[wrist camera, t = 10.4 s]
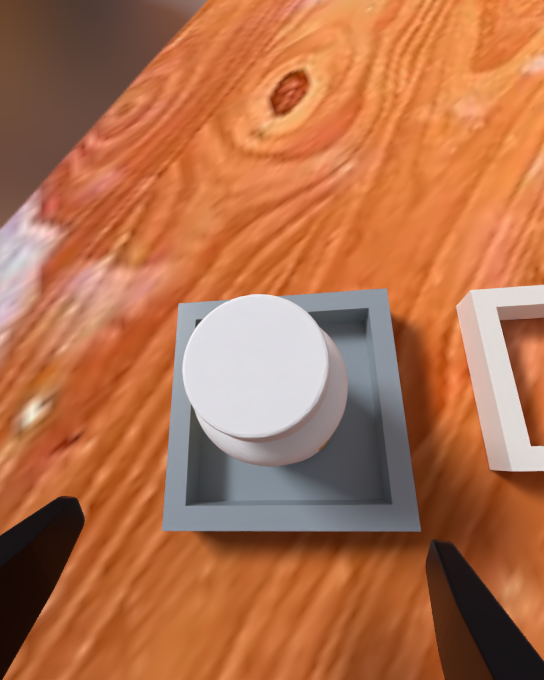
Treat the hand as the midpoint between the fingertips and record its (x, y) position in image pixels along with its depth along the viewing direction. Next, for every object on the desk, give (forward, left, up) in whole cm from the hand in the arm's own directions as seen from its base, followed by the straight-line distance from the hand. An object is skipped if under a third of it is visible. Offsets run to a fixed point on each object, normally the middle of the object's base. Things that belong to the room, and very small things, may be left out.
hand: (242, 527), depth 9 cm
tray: (+4, 0, -9) cm, 10 cm away
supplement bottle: (+4, 0, -9) cm, 10 cm away
